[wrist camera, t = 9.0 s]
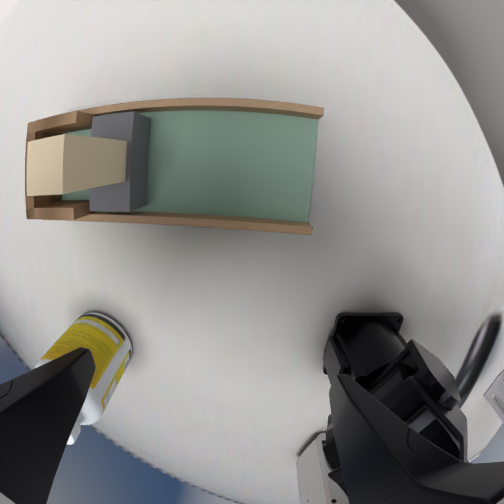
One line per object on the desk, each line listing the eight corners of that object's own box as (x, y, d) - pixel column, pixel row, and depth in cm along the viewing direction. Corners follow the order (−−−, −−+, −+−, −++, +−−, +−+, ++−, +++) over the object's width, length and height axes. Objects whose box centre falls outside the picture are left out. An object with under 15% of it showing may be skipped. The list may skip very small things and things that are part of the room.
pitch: (314, 115, 17) (323, 107, 14) (304, 226, 19) (311, 235, 17) (63, 120, 16) (45, 118, 14) (61, 213, 19) (43, 219, 16)
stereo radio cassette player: (292, 457, 29) (304, 580, 10) (312, 426, 26) (337, 576, 7) (411, 444, 30) (446, 533, 11) (438, 413, 27) (487, 508, 8)
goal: (103, 117, 16) (77, 110, 12) (100, 210, 18) (74, 220, 14) (55, 125, 16) (28, 123, 12) (54, 210, 18) (26, 218, 14)
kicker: (150, 118, 16) (75, 89, 7) (146, 205, 17) (70, 239, 9) (112, 121, 15) (28, 104, 7) (109, 204, 17) (26, 235, 9)
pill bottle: (75, 301, 21) (1, 375, 10) (133, 320, 22) (71, 417, 11) (83, 353, 23) (29, 428, 12) (136, 371, 24) (94, 462, 13)
